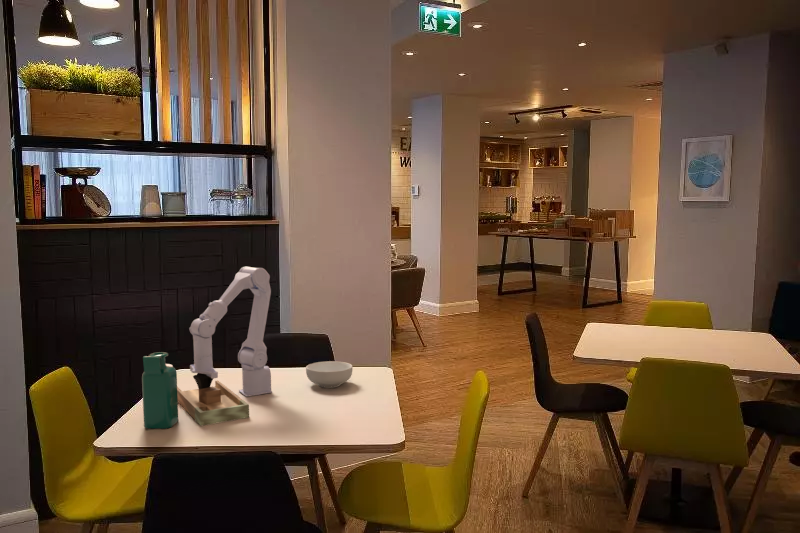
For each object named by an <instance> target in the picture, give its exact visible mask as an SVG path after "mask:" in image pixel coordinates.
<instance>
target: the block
mask: <svg viewBox="0 0 800 533" xmlns="http://www.w3.org/2000/svg"><path fill="white" fill-rule="evenodd" d="M198 389H199V388H198ZM199 402H201V403H204V404H206V405H208V404H212V403H217V402H221V389H218V388H215V386H210V387H208V388H203V389H199Z"/></svg>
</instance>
